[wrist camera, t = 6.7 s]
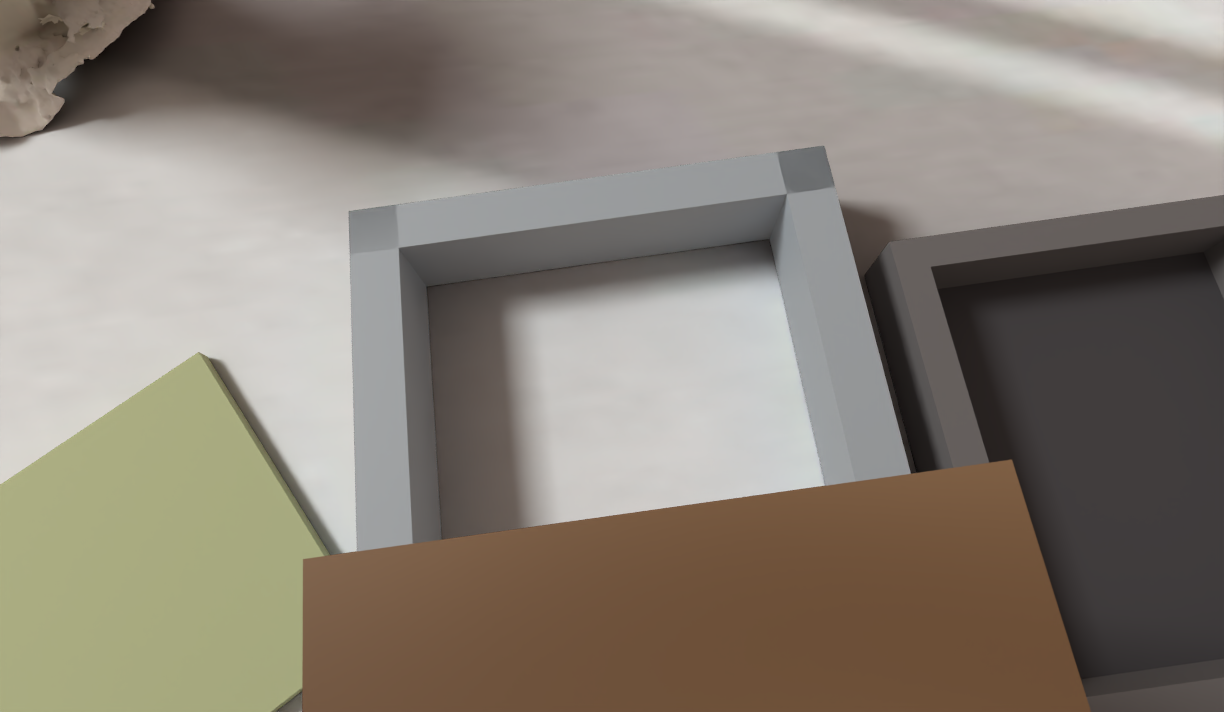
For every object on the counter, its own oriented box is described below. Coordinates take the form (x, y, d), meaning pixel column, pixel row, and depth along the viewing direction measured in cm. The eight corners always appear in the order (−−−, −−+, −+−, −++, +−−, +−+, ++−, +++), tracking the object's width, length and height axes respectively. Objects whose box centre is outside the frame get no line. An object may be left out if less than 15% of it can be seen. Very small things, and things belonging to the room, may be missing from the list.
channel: (943, 764, 19) (996, 796, 17) (405, 842, 19) (365, 887, 17) (802, 195, 25) (823, 145, 22) (382, 253, 25) (348, 211, 22)
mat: (377, 632, 21) (372, 633, 21) (39, 894, 19) (24, 902, 19) (207, 356, 24) (198, 352, 23) (-101, 563, 22) (-118, 563, 22)
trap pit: (1406, 669, 20) (1512, 681, 17) (985, 730, 20) (1033, 751, 17) (1212, 226, 24) (1274, 188, 22) (864, 275, 24) (889, 241, 22)
